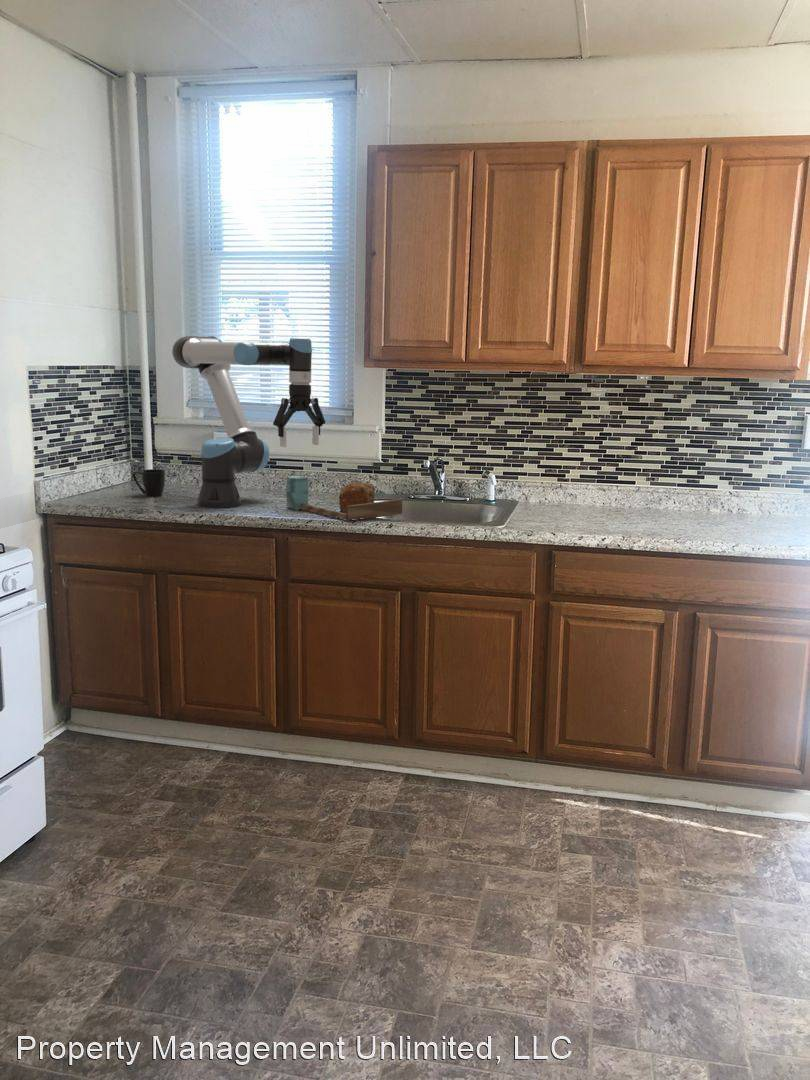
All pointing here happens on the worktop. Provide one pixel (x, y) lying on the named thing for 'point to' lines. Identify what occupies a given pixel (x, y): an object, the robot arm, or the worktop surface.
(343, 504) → the bread
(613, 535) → the worktop surface
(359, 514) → the sled
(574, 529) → the worktop surface
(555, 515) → the worktop surface
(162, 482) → the mug
